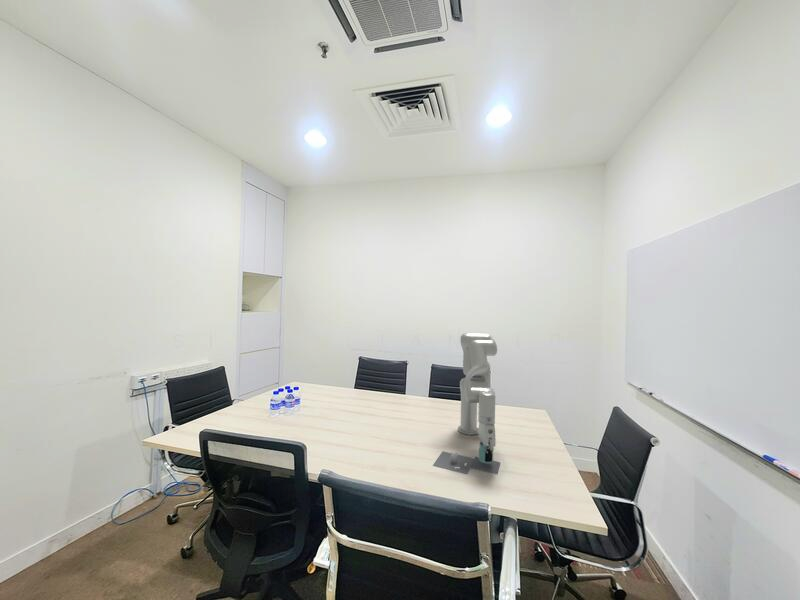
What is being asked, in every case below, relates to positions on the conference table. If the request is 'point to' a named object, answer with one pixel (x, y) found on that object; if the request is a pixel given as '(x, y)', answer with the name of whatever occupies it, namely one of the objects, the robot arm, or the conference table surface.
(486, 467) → the mat
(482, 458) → the cap
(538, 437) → the conference table surface
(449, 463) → the post plate
